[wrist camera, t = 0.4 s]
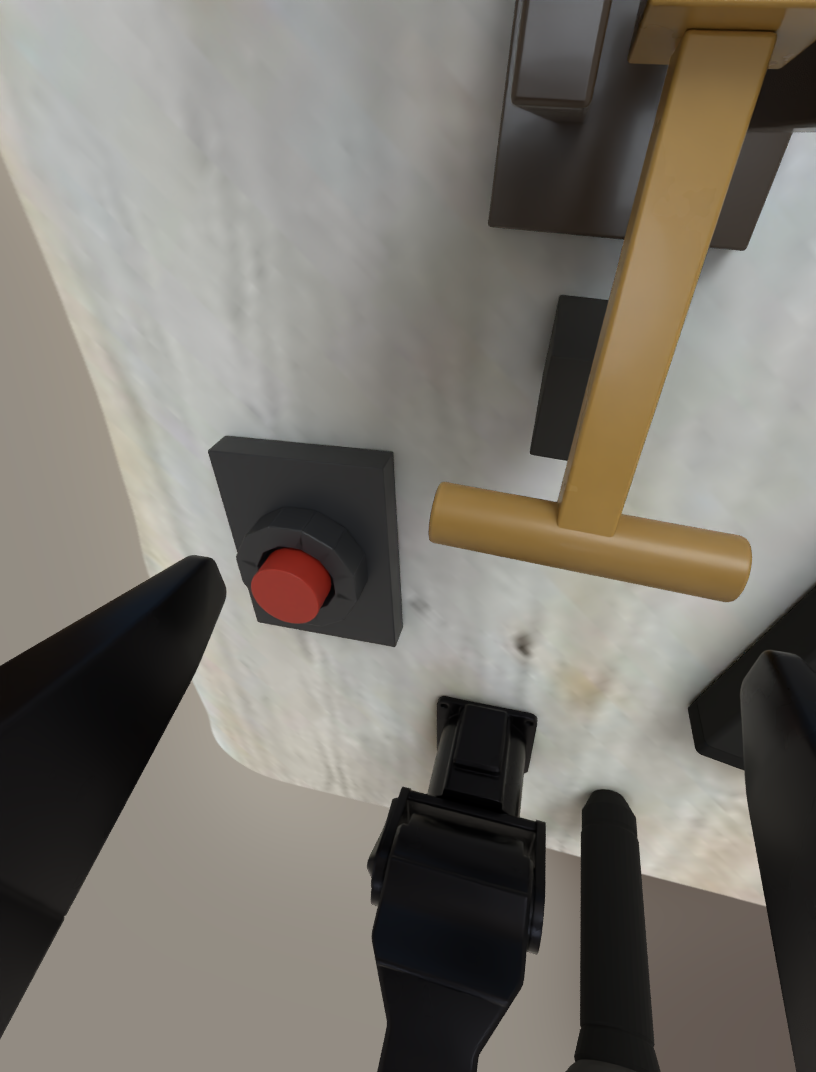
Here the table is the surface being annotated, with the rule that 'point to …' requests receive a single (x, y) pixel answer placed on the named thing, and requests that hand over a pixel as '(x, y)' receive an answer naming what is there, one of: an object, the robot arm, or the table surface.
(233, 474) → the dark grey square plate
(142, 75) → the table surface
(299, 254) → the table surface
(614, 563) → the lever
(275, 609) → the button
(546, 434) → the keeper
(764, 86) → the bracket
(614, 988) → the microphone
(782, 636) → the external hard drive
